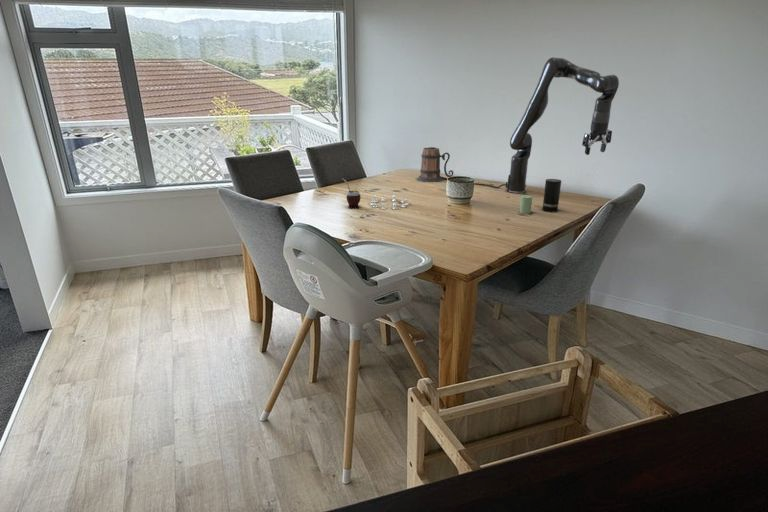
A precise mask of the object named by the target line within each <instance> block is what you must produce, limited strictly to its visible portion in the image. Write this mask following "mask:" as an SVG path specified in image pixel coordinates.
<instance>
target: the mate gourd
mask: <svg viewBox="0 0 768 512" xmlns="http://www.w3.org/2000/svg"><path fill="white" fill-rule="evenodd" d="M341 180H343V181H344V182H345V183H346V186H347V188H348V192H347V193H346V202H347V204H348V209H359V204H360V202H361V193H360V192H359V190H351V188H350V185H349V182H348V181H347V180H346V179H344V178H343V177H342V178H341Z"/></svg>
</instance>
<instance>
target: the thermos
mask: <svg viewBox="0 0 768 512" xmlns="http://www.w3.org/2000/svg"><path fill="white" fill-rule="evenodd" d="M561 188H562V179H557V178H547V179H545V185H544V190H543V192H544V193H543V201H542V211H543V212H547V213H556V212H558V211H559V205H560V203H559V201H560V195H561Z"/></svg>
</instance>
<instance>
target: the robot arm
mask: <svg viewBox="0 0 768 512" xmlns="http://www.w3.org/2000/svg"><path fill="white" fill-rule="evenodd" d="M554 78H557V79H559V78H567V79H571V80H574V81H575V82H576V83H578V84H580V85H583V86H586V87H588V88H590V89H592V90H593V91H595V92H596V93H600V94H601V95H600V96H598V97H597V98H596V99H595V102H594V108H593V113H592V117H591V124H590V133H586V132H585V133H584V134H583V138H582V143H581V145H582V146H583V147H584V148H585V149H584V154H585V155H586V156H590V153H591V147H592V146H593V145H594V144H595V143H597V142H601V144H600V148H599V149H600V152H601V153H605V151H606V150H607V149H606V148H607V145H608V144H611V141H612V134H613V131H612V130H610V129H608V128H609V124H610V120H611V119H610V118H611V111H612V110H611V109H612V105H613V104H612V103H613V100H614V98H615V96H616V95H617V91H618V89H619V86H620V80H619V77H618V76H617V75H616V74H608V75H604V76H603V75H601V74H600V72H599V71H596V70H593V69H589V68H586V67H582V66H579V65H576V64H575V63H572V62H571V61H569V60H568V59H566V58H563V57H555V56H553V57H549V58H548V59H547V61H545V64H544V65H543V68H542V71H541V73H540V76H539V79H538V82H537V84H536V87H535V89H534V91H533V94H532V96H531V98H530V100H529V101H528V104H527V106H526V108H525V110H524V113H523V115H522V116H521V119H520V121H519V123H518V124H517V126H516V128H515V129H514V131H513V133H512V135H511V137H510V139H509V146H510V148H511V150H514V151H516V152H515V154H513V155H512V156H511V158H510V159H511V160H510V169H509V174H508V177H507V181H506V182H505V183H503V184H499V186H494V185H492V184H487V183H479V182H474V183H475V184H474V185H476V186H484V187H485V186H486V187H490V188H493V189H500V188H501V187H505V189H506V192H508V193H512V194H524V193H525V192H526V187H527V185H526V184H527V174H528V167H529V165H528V164H529V159H530V157H531V153H532V145H533V138H532V135H531V134H530V133H529V130H530V129H532V127H533V126H534V125H535V124H536V123H537V122H538V121H539V120H540V119H541V117H543V116H544V113H545V110H546V109H547V107H548V104H549V88H550V85H551V84H552V81H553V79H554ZM441 177H442V179H443V180H447V178H448V177H445V176H441Z"/></svg>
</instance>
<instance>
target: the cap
mask: <svg viewBox="0 0 768 512" xmlns="http://www.w3.org/2000/svg"><path fill="white" fill-rule="evenodd" d="M532 205H533V196H532V195H529V194H524V195H521V196H520V204H519V214H522V215H529V214H532Z"/></svg>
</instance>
